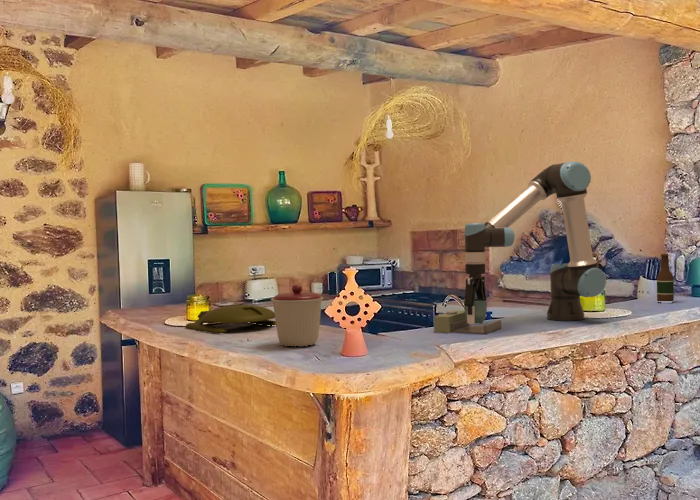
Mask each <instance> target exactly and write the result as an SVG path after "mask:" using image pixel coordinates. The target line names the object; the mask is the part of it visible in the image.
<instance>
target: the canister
mask: <svg viewBox="0 0 700 500" xmlns="http://www.w3.org/2000/svg"><path fill="white" fill-rule="evenodd" d="M302 290H303V287H302V285H300V284H294V285H293V286H292V287H291V291H292V292H285V293H284V292H283V293H279V294H276V295H275V296H273V297H272V298H271V299H270V300H271V301H272V305H273V310H274V311H273V312H274V313H275V318H274V319H275V320H274V321H276V327H275V328H276V332H277V338H278V342H279V343H280V344H281V345H282V346H283V345H284V347H287V346H295V347H294V348H297V347H296V346H306V347H309V346H308V345H311V346H313V344H314V345H315V344H316V343H317V342H318V339H319V334H320V333H319V331H320V324H321V312H322V301H323V299H324V296H321V295H320V294H318V293H315V292H305V291H302Z"/></svg>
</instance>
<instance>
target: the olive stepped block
mask: <svg viewBox="0 0 700 500" xmlns="http://www.w3.org/2000/svg"><path fill="white" fill-rule="evenodd" d="M465 319H467V318H466V315H465V310H446V312H444V313H441V314H437V315H434V316H433V325H434V326H433V327H434V328H433V331H434V333H443V334H450V333H452V332H451V324H452V323H455V322H458V321H462V320H465Z"/></svg>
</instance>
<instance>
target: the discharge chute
mask: <svg viewBox="0 0 700 500" xmlns="http://www.w3.org/2000/svg"><path fill="white" fill-rule="evenodd" d="M501 329H502V320H500V319H499V320H495V321H492V322H490V323H487V324H484V325H473V324H472V325H470V323H467V319H465V320H462V321H458V322H455V323H452V324H451V333H453V334H454V333H457V334H458V333H459V334H471V333H472V335H489V334H491V333H494V332H497V331H499V330H501Z"/></svg>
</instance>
